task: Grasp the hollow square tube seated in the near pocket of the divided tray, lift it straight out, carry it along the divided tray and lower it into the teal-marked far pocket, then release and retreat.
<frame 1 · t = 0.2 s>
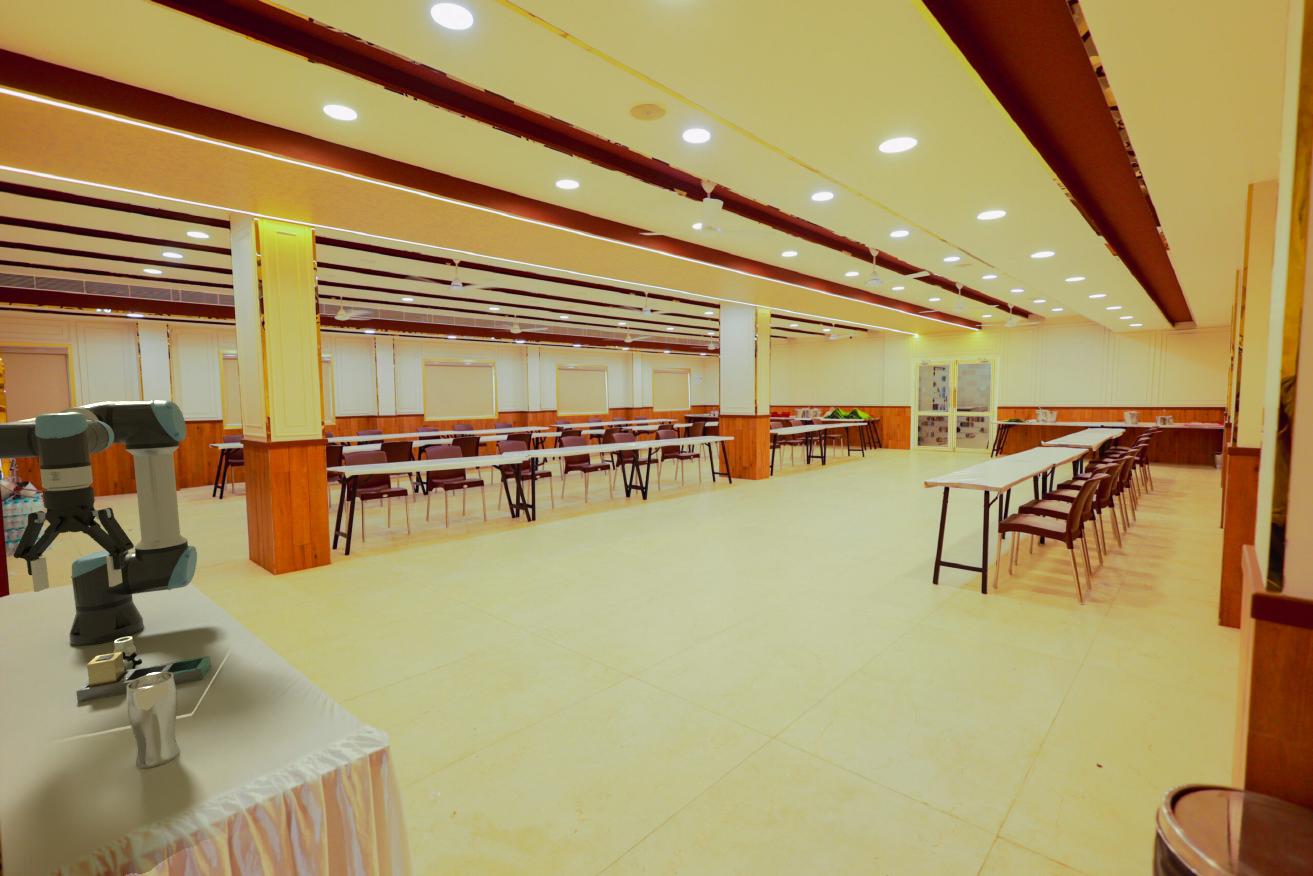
hand: (79, 587, 125), 26 cm above the table, fingers open, 13 cm apart
beer glass: (158, 759, 109), on the table
valve: (125, 671, 144), on the table
hollow square tube: (108, 690, 134), resting on divided tray
divided tray: (148, 685, 137), on the table
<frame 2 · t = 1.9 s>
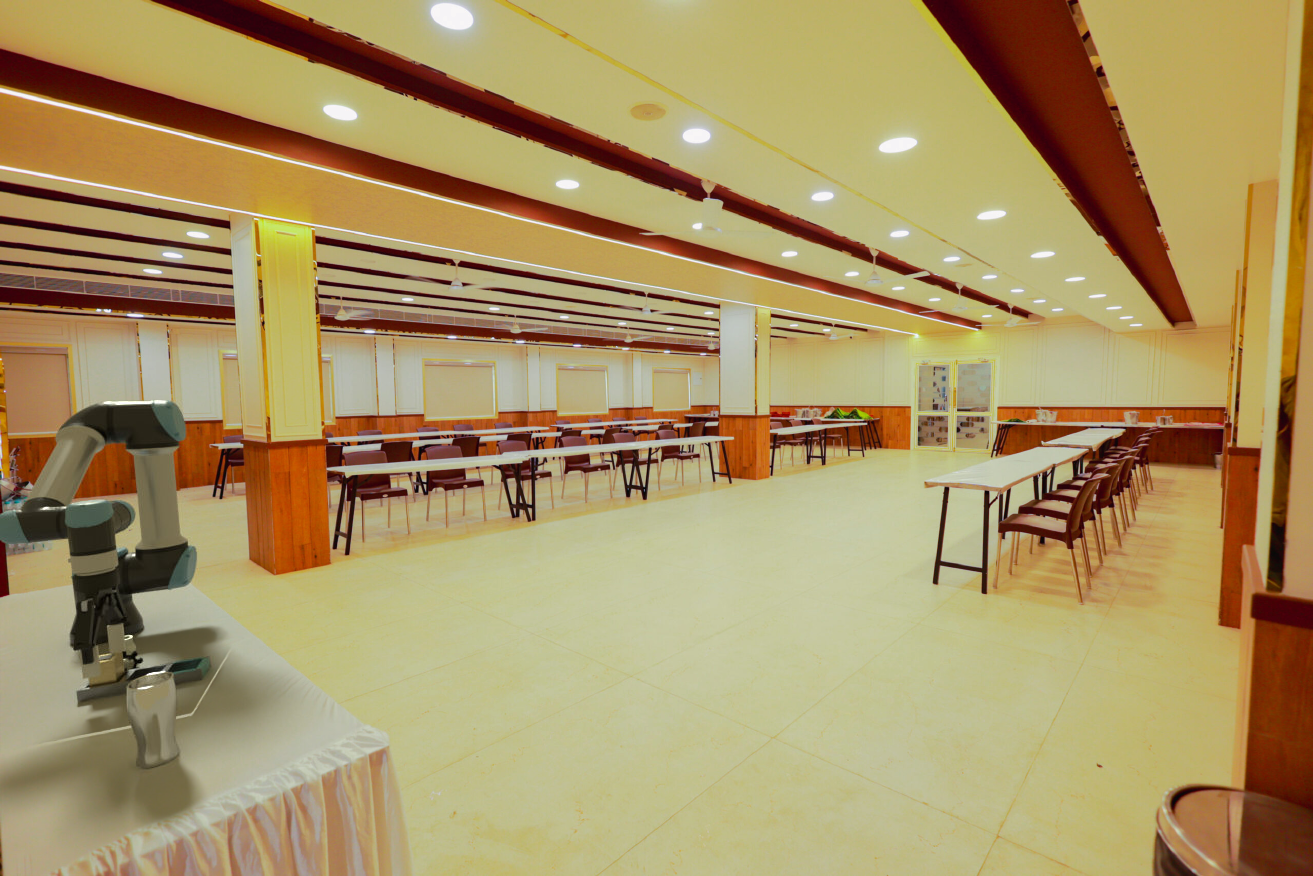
hand: (105, 663, 133), 7 cm above the table, fingers open, 13 cm apart
valve: (126, 670, 145), on the table, touching gripper
everything else where it was.
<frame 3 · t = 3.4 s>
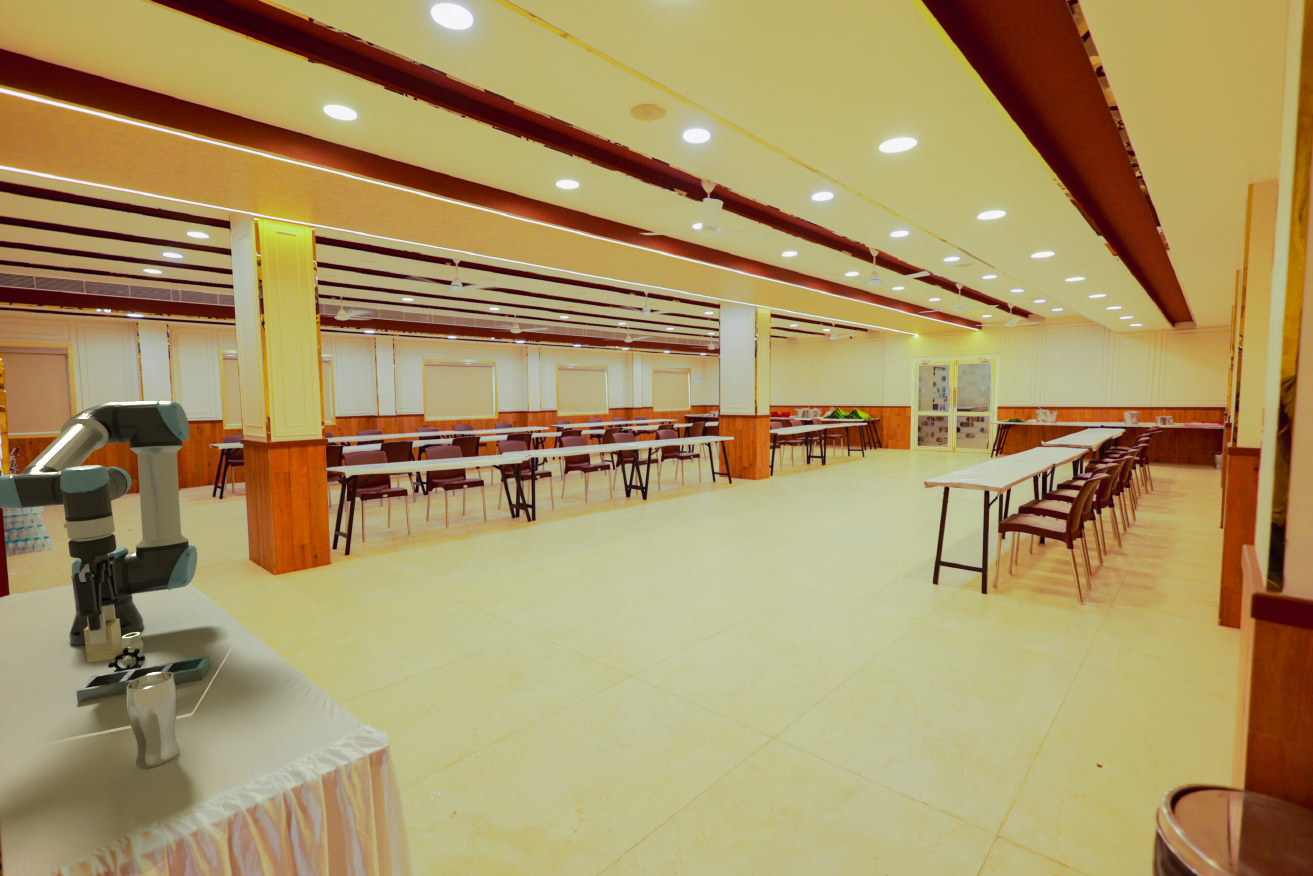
hand: (104, 637, 133), 13 cm above the table, fingers closed on hollow square tube, 5 cm apart
valve: (131, 667, 147), on the table
hollow square tube: (105, 656, 134), point 8 cm above the table, touching gripper
everything else where it was.
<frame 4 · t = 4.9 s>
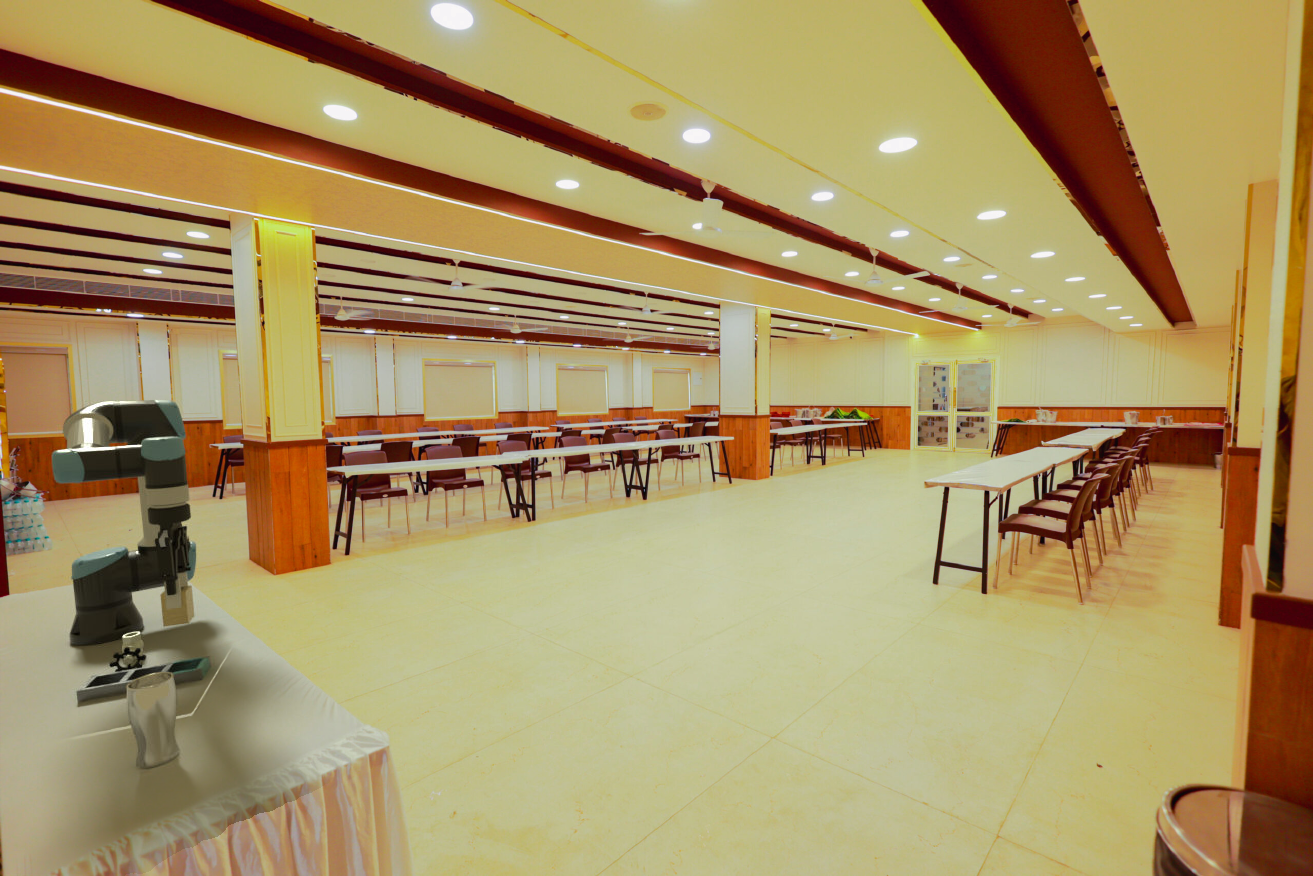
hand: (178, 603, 138), 18 cm above the table, fingers closed on hollow square tube, 5 cm apart
hollow square tube: (179, 621, 138), point 14 cm above the table, touching gripper
everything else where it was.
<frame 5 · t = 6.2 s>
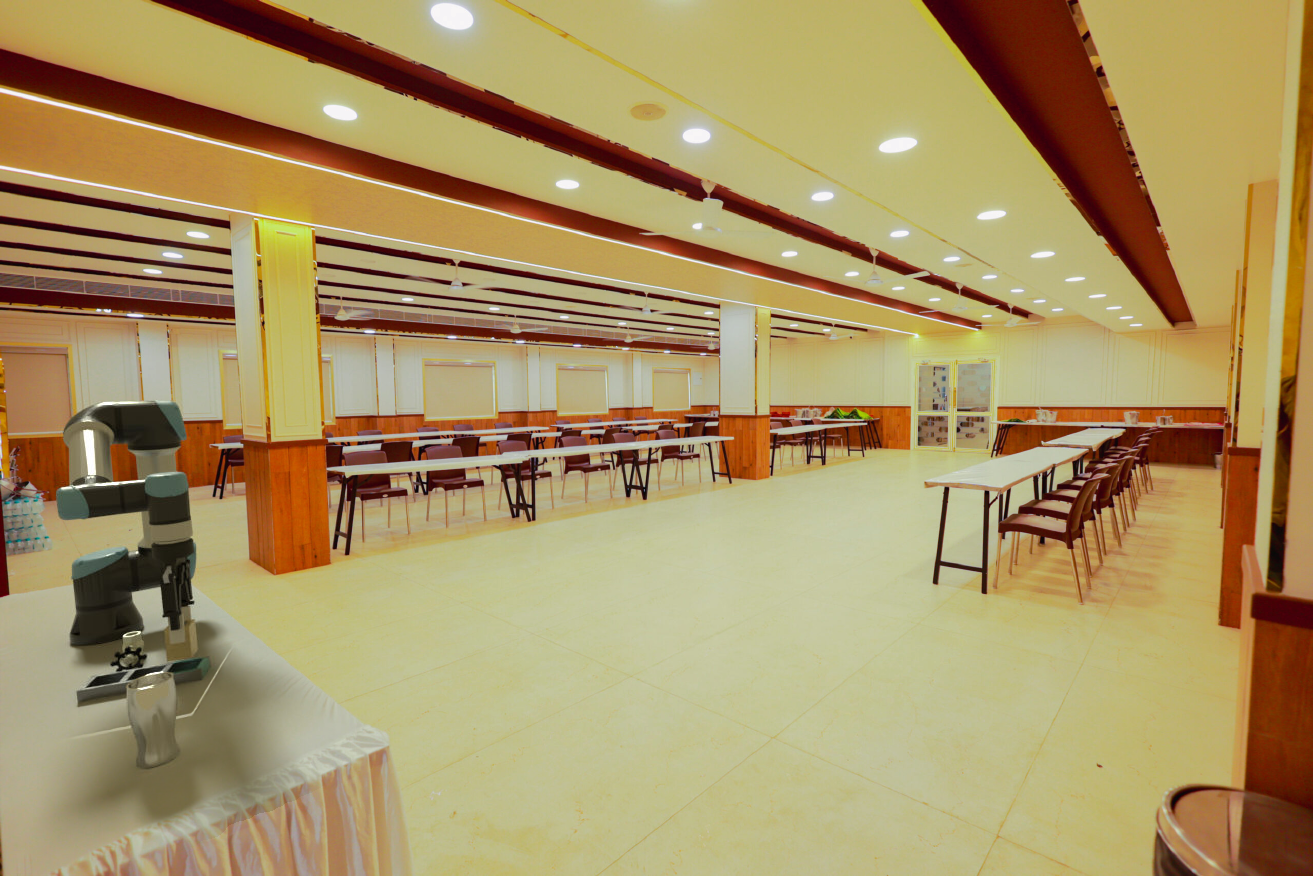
hand: (181, 637, 139), 10 cm above the table, fingers closed on hollow square tube, 5 cm apart
hollow square tube: (182, 655, 139), point 6 cm above the table, touching gripper
everything else where it was.
when the fingers open (6 cm above the table, at t = 7.2 s): hollow square tube drops 1 cm, resting on divided tray.
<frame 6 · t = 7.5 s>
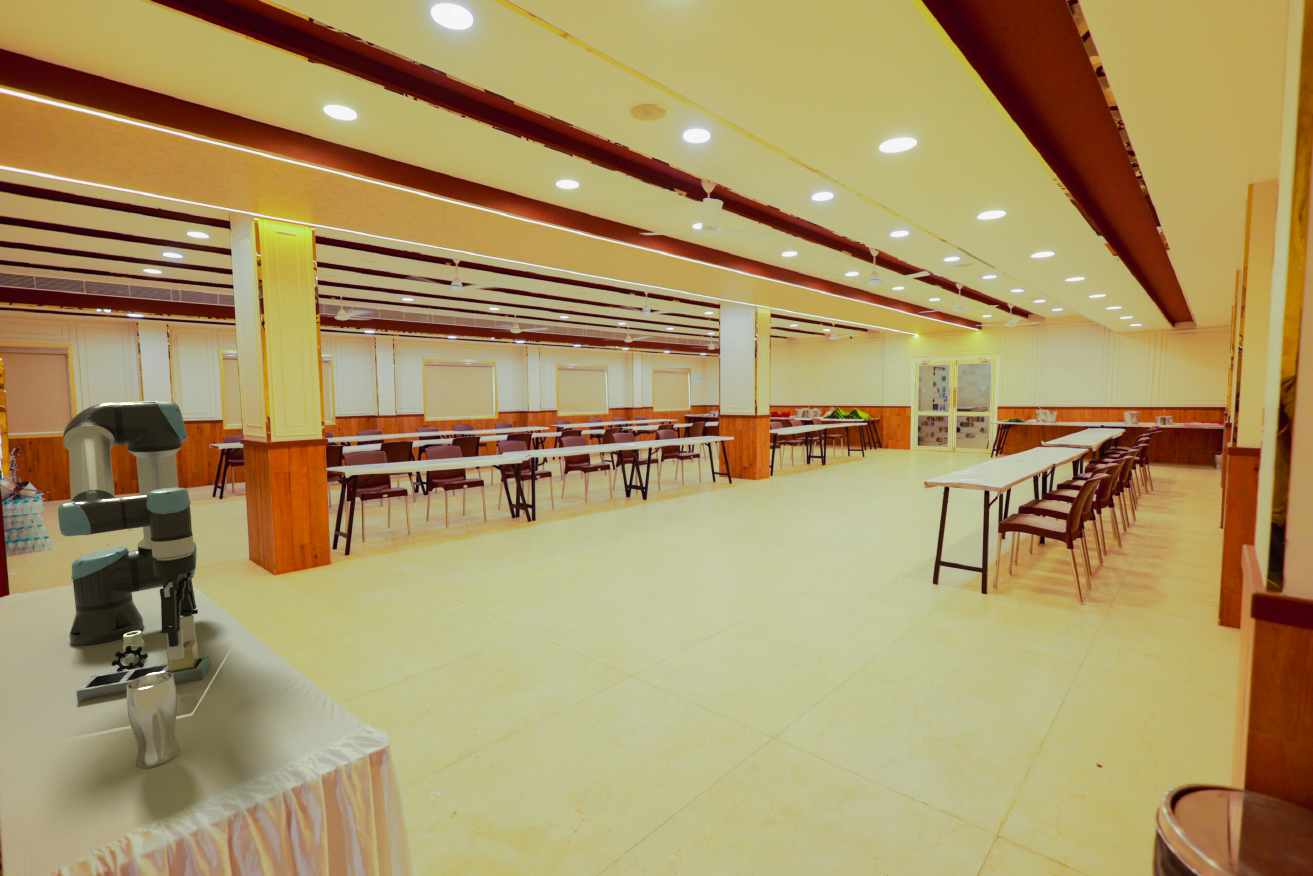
hand: (182, 650, 139), 7 cm above the table, fingers open, 8 cm apart
hollow square tube: (185, 676, 140), point 1 cm above the table, touching divided tray
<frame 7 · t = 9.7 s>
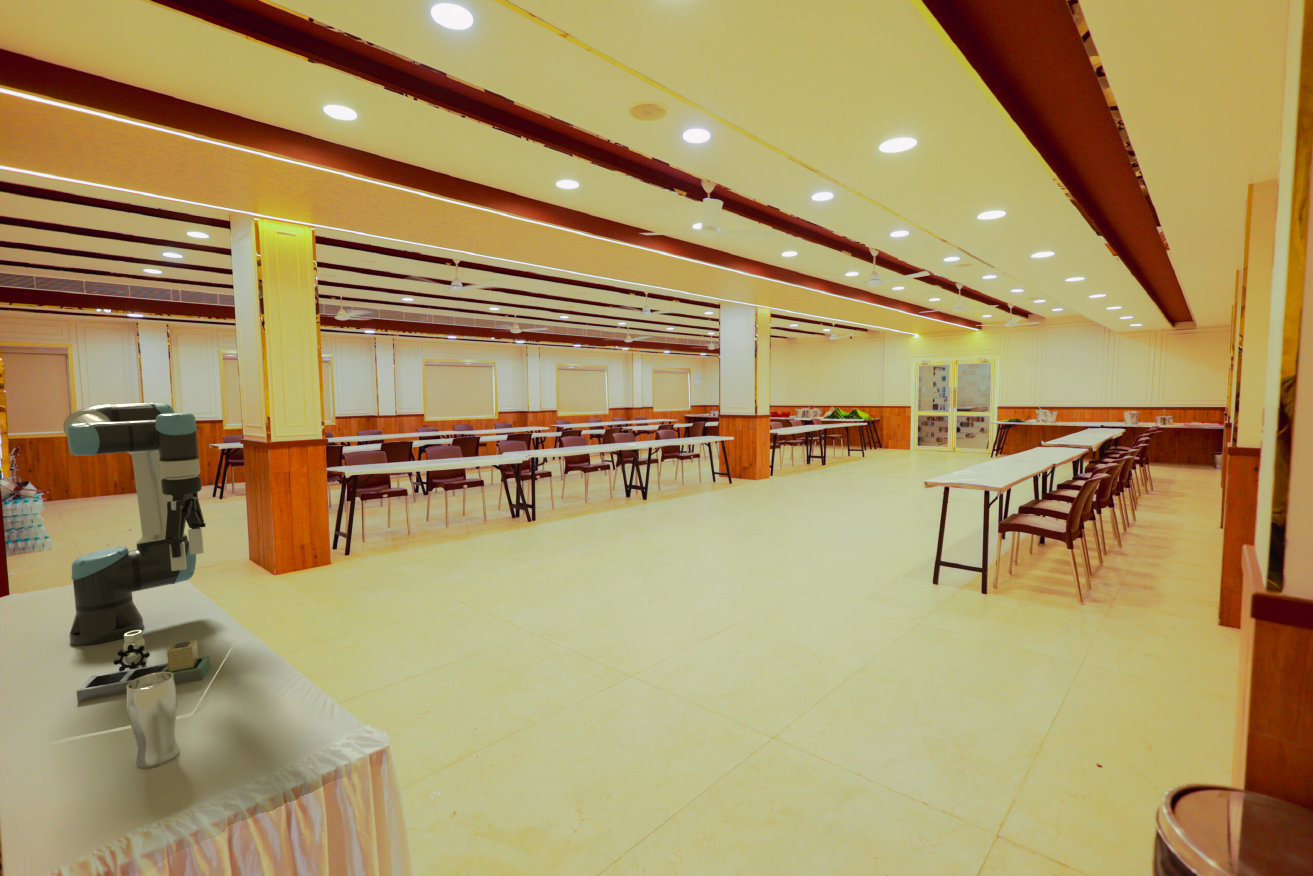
hand: (188, 561, 147), 25 cm above the table, fingers open, 13 cm apart
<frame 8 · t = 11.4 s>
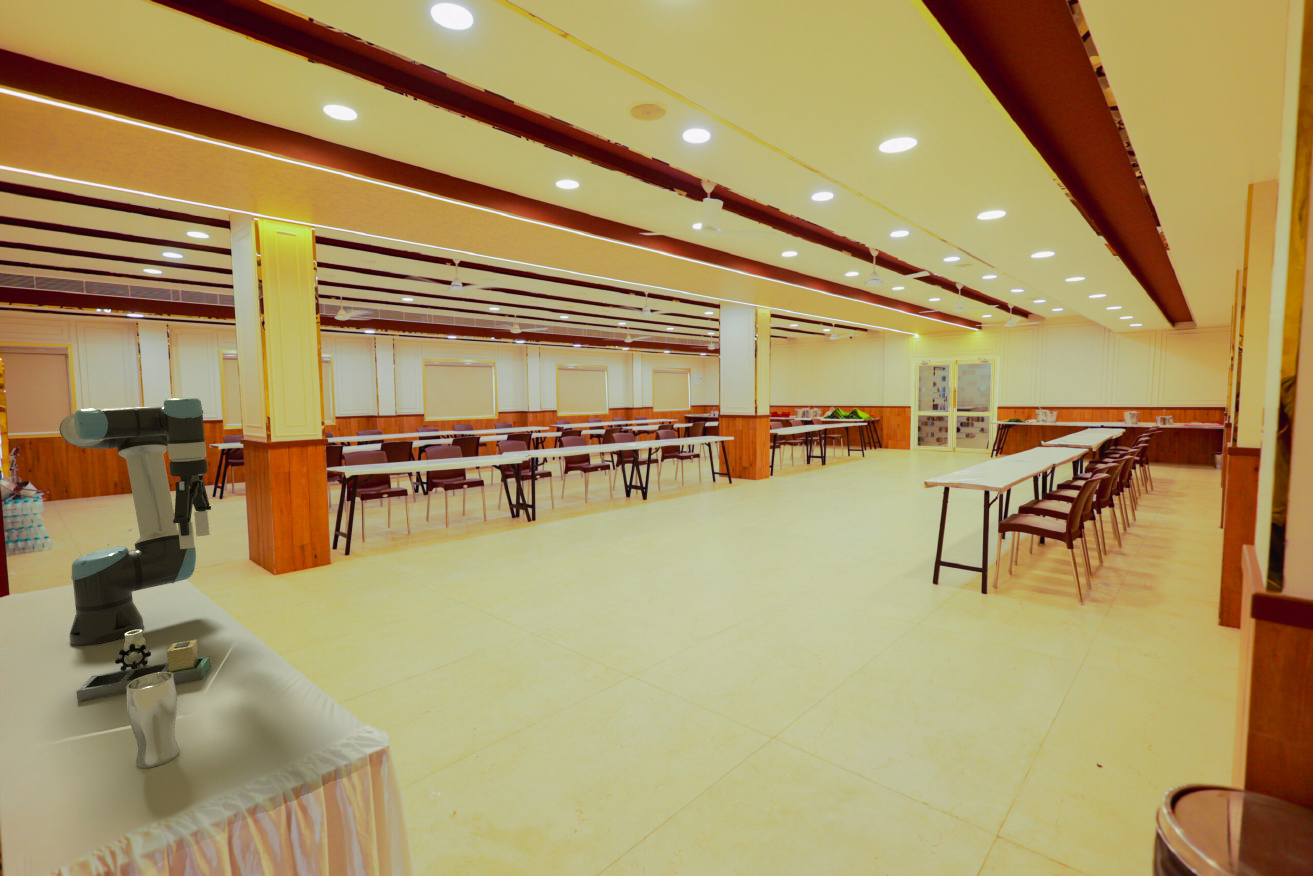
hand: (195, 541, 152), 29 cm above the table, fingers open, 13 cm apart
at the end: hollow square tube 0.0 cm from the target spot on the divided tray, point 0.6 cm above the divided tray's base; hollow square tube tilted 0°; the gripper is holding nothing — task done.
